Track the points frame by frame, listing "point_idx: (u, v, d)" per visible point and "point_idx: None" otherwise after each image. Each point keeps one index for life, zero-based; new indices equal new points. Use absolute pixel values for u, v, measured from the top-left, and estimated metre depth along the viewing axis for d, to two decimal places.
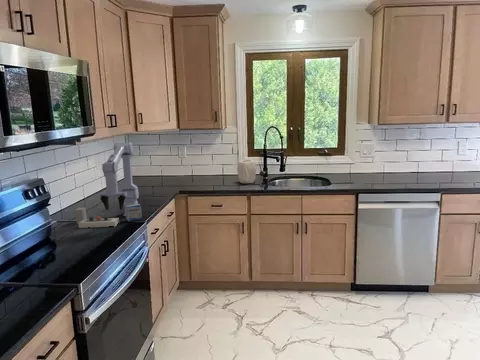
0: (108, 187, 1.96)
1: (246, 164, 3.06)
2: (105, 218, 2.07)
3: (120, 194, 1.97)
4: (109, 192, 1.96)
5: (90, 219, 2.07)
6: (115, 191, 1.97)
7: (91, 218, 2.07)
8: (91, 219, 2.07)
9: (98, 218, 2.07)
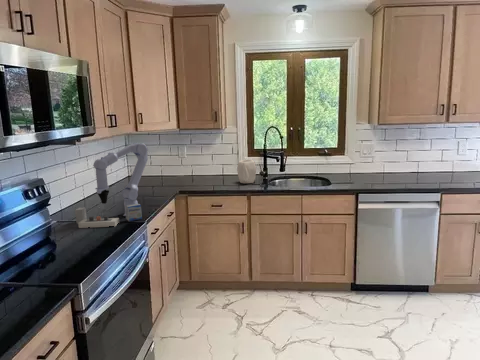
0: None
1: (246, 164, 3.06)
2: (105, 218, 2.07)
3: (97, 190, 2.11)
4: None
5: (90, 219, 2.07)
6: (98, 187, 2.13)
7: (91, 218, 2.07)
8: (91, 219, 2.07)
9: (98, 218, 2.07)
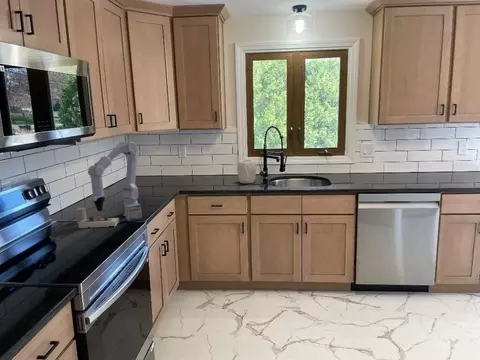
0: None
1: (246, 164, 3.06)
2: (105, 218, 2.07)
3: (92, 198, 2.04)
4: None
5: (90, 219, 2.07)
6: (93, 194, 2.06)
7: (91, 218, 2.07)
8: (91, 219, 2.07)
9: (98, 218, 2.07)
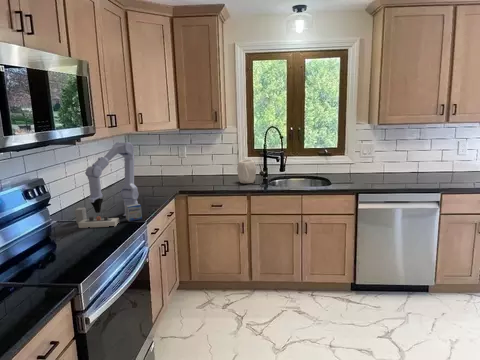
0: None
1: (246, 164, 3.06)
2: (105, 218, 2.07)
3: None
4: None
5: (90, 219, 2.07)
6: (91, 195, 2.03)
7: (91, 218, 2.07)
8: (91, 219, 2.07)
9: (98, 218, 2.07)
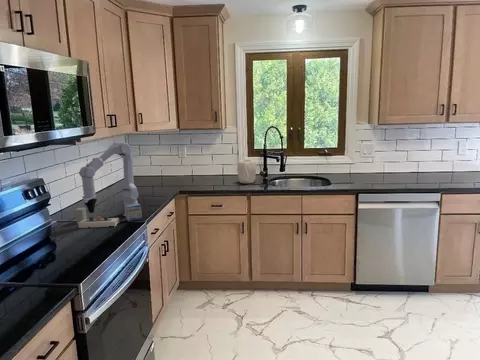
0: None
1: (246, 164, 3.06)
2: (105, 218, 2.07)
3: None
4: None
5: (90, 219, 2.07)
6: (85, 195, 2.03)
7: (91, 218, 2.07)
8: (91, 219, 2.07)
9: (98, 218, 2.07)
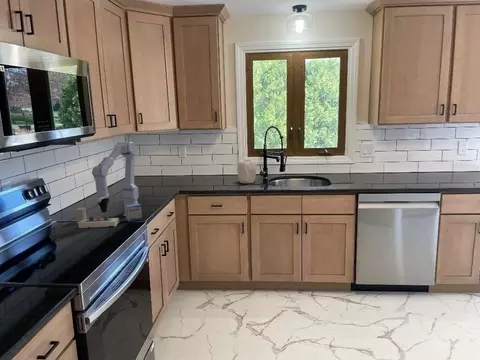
0: None
1: (246, 164, 3.06)
2: (105, 218, 2.07)
3: (96, 199, 2.00)
4: None
5: (90, 219, 2.07)
6: (97, 195, 2.03)
7: (91, 218, 2.07)
8: (91, 219, 2.07)
9: (98, 218, 2.07)
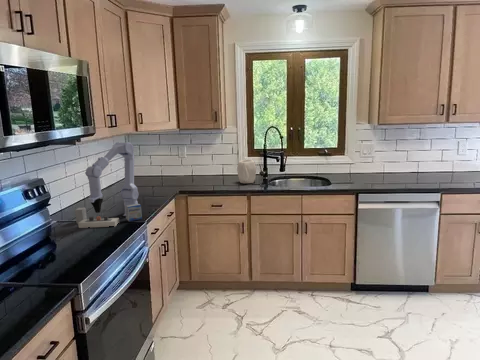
0: None
1: (246, 164, 3.06)
2: (105, 218, 2.07)
3: None
4: None
5: (90, 219, 2.07)
6: (91, 195, 2.03)
7: (91, 218, 2.07)
8: (91, 219, 2.07)
9: (98, 218, 2.07)
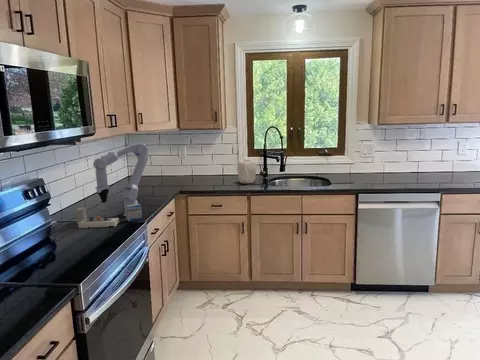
0: None
1: (246, 164, 3.06)
2: (105, 218, 2.07)
3: None
4: None
5: (90, 219, 2.07)
6: (98, 186, 2.13)
7: (91, 218, 2.07)
8: (91, 219, 2.07)
9: (98, 218, 2.07)
